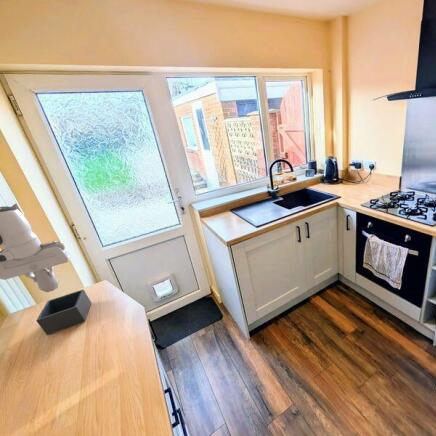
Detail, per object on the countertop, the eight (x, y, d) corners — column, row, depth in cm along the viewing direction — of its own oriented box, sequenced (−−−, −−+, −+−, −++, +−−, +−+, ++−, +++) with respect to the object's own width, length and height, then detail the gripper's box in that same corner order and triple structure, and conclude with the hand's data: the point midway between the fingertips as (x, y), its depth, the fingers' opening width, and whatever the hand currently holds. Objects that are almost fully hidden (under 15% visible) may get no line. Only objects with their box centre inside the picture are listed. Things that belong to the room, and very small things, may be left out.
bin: (46, 335, 97) (36, 320, 93) (57, 314, 107) (47, 300, 104) (85, 321, 101) (76, 307, 98) (91, 302, 112) (83, 289, 108)
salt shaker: (60, 282, 101) (44, 255, 96) (61, 287, 97) (44, 260, 92) (41, 289, 98) (23, 262, 92) (42, 296, 94) (23, 268, 88)
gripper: (63, 236, 96) (79, 265, 102) (-8, 253, 88) (14, 284, 94) (57, 242, 91) (75, 273, 97) (-18, 262, 83) (6, 293, 89)
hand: (44, 278), depth 95 cm, fingers closed on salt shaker, 3 cm apart
